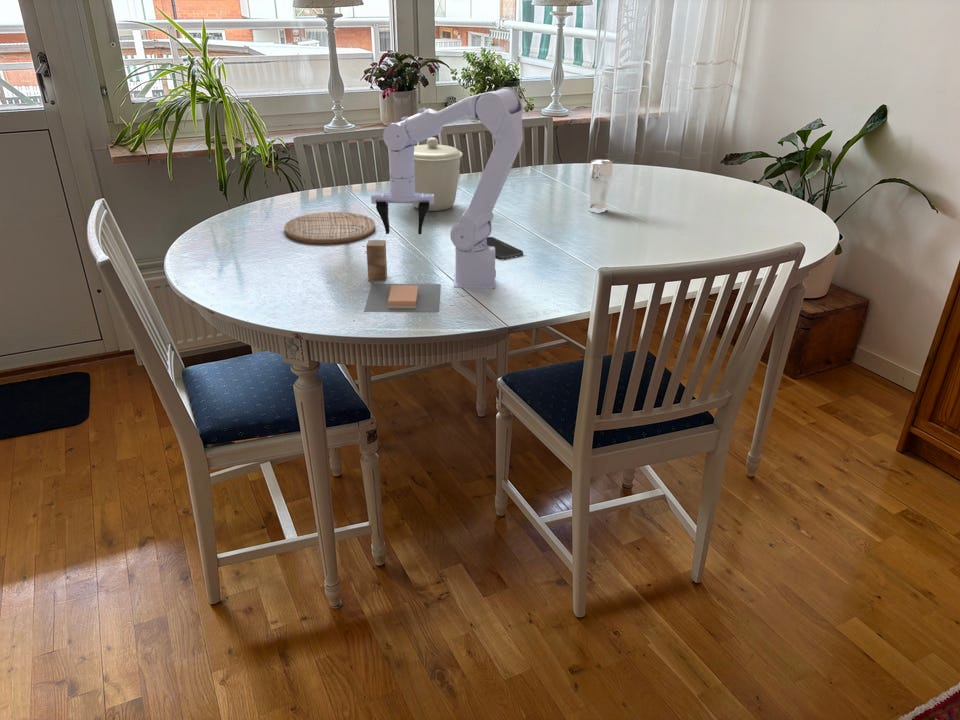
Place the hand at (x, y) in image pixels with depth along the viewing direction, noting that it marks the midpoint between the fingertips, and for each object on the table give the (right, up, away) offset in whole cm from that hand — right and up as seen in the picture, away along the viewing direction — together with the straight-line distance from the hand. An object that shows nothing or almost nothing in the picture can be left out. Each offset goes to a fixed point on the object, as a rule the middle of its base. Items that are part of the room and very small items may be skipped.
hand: (403, 232), depth 176 cm
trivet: (-24, +6, +31) cm, 40 cm away
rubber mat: (+1, -17, -12) cm, 20 cm away
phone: (+22, -1, +19) cm, 30 cm away
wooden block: (-6, -11, -1) cm, 13 cm away
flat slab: (+1, -14, -9) cm, 17 cm away
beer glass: (+55, +16, +53) cm, 78 cm away
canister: (+4, +17, +53) cm, 56 cm away
